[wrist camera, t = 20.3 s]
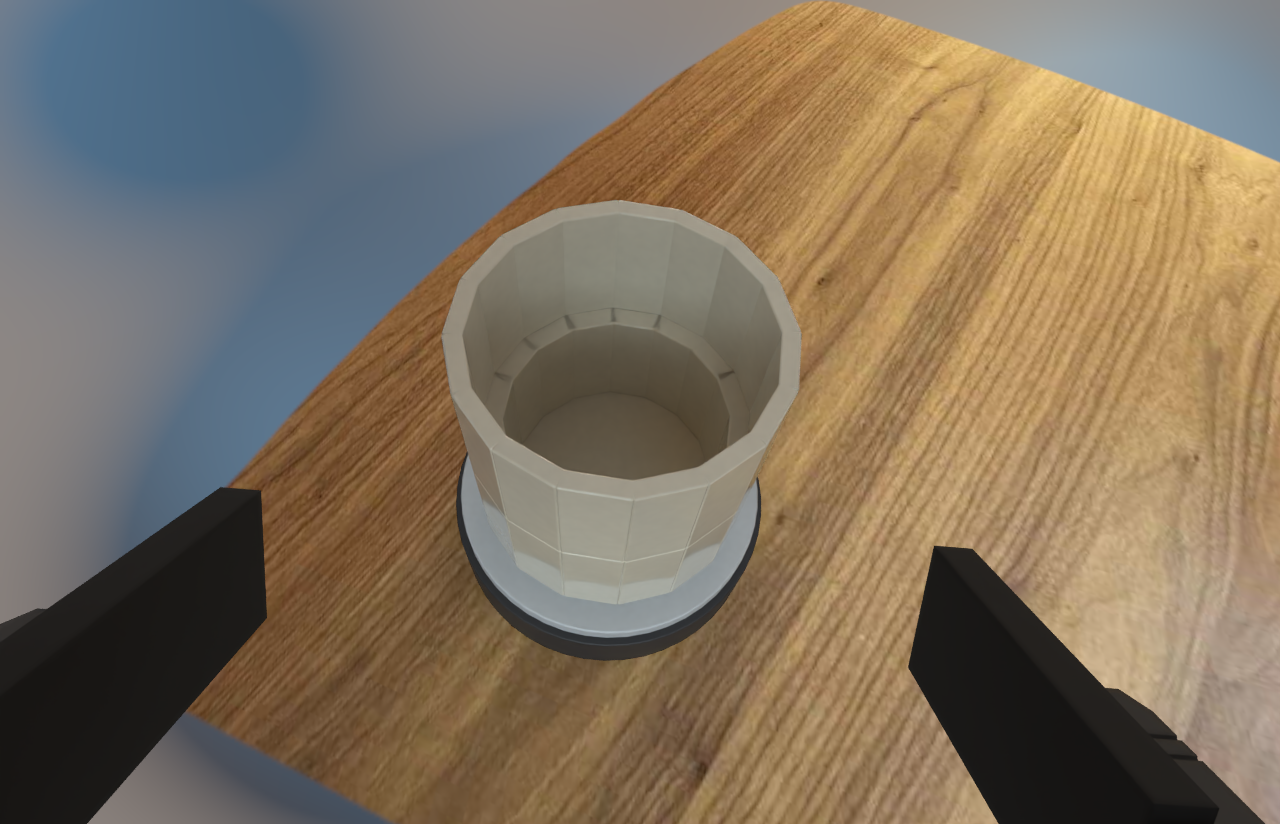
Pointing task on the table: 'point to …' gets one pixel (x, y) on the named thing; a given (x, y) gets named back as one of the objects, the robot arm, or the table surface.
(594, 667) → the table surface
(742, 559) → the scale
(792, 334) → the faceted beige cup
